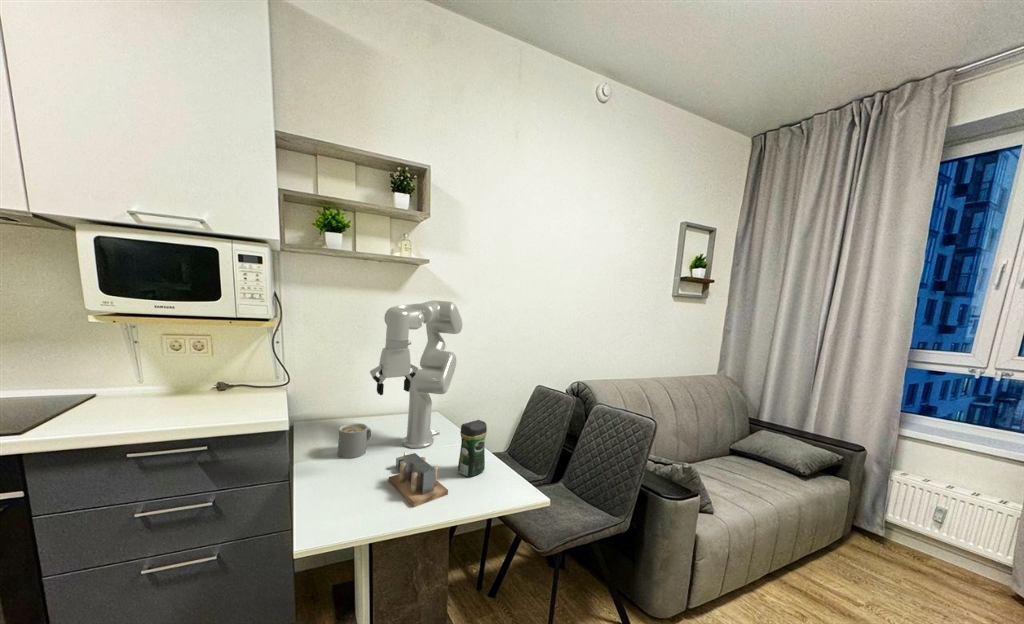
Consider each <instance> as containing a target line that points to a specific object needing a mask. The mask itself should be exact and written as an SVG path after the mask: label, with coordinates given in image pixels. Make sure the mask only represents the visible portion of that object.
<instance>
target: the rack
mask: <svg viewBox="0 0 1024 624" xmlns="http://www.w3.org/2000/svg"><path fill="white" fill-rule="evenodd" d="M420 457H421V458H422V459H423V460H424V461H426V456H420ZM432 467H433V468H434V469H435V482H434V491H432V492H429V493H426V494H423V495H422V494H421V493H420V492H419V491H418V490H417V476H418V473H417V472H413V473H412V477H411V483H410V482H409V481H408V480H406V479H405V472H406V463H405V462H402V463H400V471H399V473H397V474H395V475H391V476H388V483H389V484H390V485H392V487H393V488H394V489H395V490H396V491H397V492H398V493H399V494H400V495H401V496H402V497H403V498H404V499H405V500H406V501H407V502H408V503H409V504H410V505H411V507H413V508H415V507H418V506H420V505H423V504H427V503H428V502H432V501H434V500H436V499H439V498H442V497H445V496H447V495H448V494H449V489H447V488H446V487H445V486H444V485H443V484H441V483H440V482H439V481H438V480H437V479H438V466H437V465H434V466H432Z"/></svg>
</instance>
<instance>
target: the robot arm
mask: <svg viewBox="0 0 1024 624" xmlns="http://www.w3.org/2000/svg"><path fill="white" fill-rule="evenodd" d="M383 317H384V323H385V325H386V332H385V347H383V348H382V351H381V353H380V356H379V357H380V358H379V362H378V363H379V364H378V366H376V367H375V368H373V369H371V370H370V371H369V374H370V375H371V377H372V379H373V380H374V381H375V382H376V393H377V395H380V396H383V395H384V387H385V384H384V381H385V380H386V379H391V378H400V377H401V378H403V377H404V378H405V379H404V380H403V390H404V391H405V392H406V393H408V394H409V397H408V398H409V399H408V401H409V402H408V414H407V430H406V436H405V437H404V438H403V439H402V445H403V446H404V447H407V448H410V449H423V448H427V447H430V446H431V445H433V443H434V439H433V438H434V437H436V436H440V434H441V432H440V430H435V429H431V423H432V422H431V420H432V407H433V401H432V397H431V394H433V395H444V394H446V393H447V392H448V390H449V388H450V386H451V382H452V380H453V377H454V375H455V374H454V373H455V370H456V367H457V356H456V354H455V353H454V352H452V351H447V350H445V349H446V346H447V345H446V341H445V340H444V338H443V337H442V336H441V334H449V335H457V334H460V333H461V331H462V329H463V320H462V316H461V314H460V312H459V309H458V307H457V305H456V304H455V303H454V302H452V301H446V300H435V299H434V300H430V301H429V300H428V301H425V302H422V303H411V304H402V305H395V306H391V307H390V308H388V309H387V310H386V311H385V314H384V316H383ZM424 324H425V329H426V336H427V342H426V345H425V347H424V349H423V353H422V355H421V357H420V360H419V366H420V368H419V367H418V366H415V364H414V365H413V364H411V353H410V348H409V346H410V345H412V341H411V340H410V339H409V334H410V331H409V330H419V329H421V328H422V326H423V325H424ZM377 373H378V375H379V376H377Z"/></svg>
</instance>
